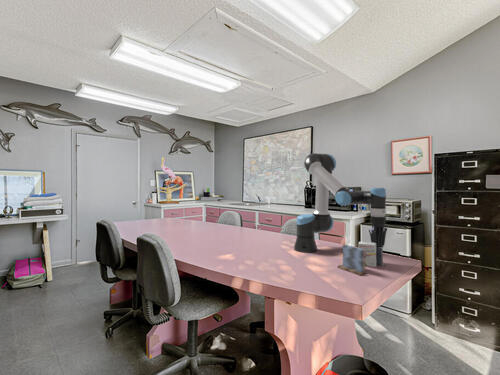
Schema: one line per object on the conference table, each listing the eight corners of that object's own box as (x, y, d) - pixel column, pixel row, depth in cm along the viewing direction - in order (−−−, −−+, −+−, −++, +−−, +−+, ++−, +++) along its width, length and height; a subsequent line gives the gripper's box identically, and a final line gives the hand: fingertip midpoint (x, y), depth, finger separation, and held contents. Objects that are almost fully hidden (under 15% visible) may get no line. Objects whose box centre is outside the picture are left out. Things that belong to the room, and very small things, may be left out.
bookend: (364, 261, 145) (364, 244, 144) (369, 260, 147) (369, 244, 146) (381, 266, 136) (381, 248, 136) (386, 264, 138) (386, 247, 138)
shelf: (337, 267, 137) (337, 244, 137) (371, 260, 150) (371, 239, 150) (360, 275, 125) (360, 250, 125) (394, 266, 138) (394, 244, 138)
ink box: (376, 264, 138) (376, 242, 138) (376, 267, 134) (376, 244, 134) (358, 262, 142) (358, 241, 142) (358, 265, 138) (358, 243, 138)
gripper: (376, 217, 136) (376, 262, 136) (391, 215, 142) (391, 259, 142) (364, 216, 142) (364, 259, 143) (379, 214, 149) (379, 255, 149)
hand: (378, 259), depth 142 cm, fingers closed
